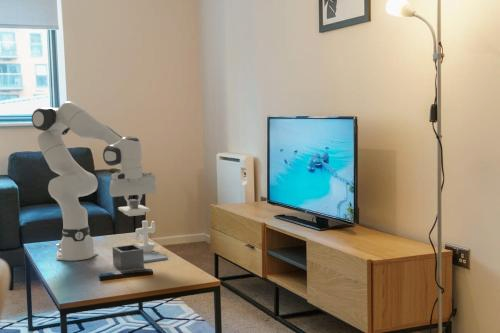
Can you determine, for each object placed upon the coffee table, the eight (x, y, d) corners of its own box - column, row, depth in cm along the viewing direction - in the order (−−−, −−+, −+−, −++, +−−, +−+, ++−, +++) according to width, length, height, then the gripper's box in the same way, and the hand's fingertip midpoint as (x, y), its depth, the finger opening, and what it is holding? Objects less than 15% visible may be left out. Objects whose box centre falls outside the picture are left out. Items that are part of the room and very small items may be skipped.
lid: (118, 213, 296) (117, 199, 295) (141, 210, 301) (140, 197, 300) (126, 217, 285) (125, 202, 284) (150, 214, 289) (149, 200, 289)
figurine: (134, 251, 319) (133, 220, 317) (153, 249, 323) (152, 218, 321) (138, 254, 312) (137, 222, 311) (157, 251, 316) (156, 220, 315)
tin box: (113, 265, 293) (112, 247, 292) (135, 261, 298) (134, 244, 297) (121, 270, 282) (120, 252, 282) (144, 267, 287) (143, 249, 286)
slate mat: (132, 256, 307) (132, 254, 307) (157, 253, 313) (157, 251, 313) (142, 263, 295) (142, 260, 295) (167, 259, 300) (167, 257, 300)
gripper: (152, 171, 298) (154, 202, 300) (107, 174, 289) (109, 206, 291) (157, 172, 293) (158, 203, 294) (111, 176, 284) (113, 208, 285)
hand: (133, 205), depth 292 cm, fingers closed on lid, 2 cm apart
